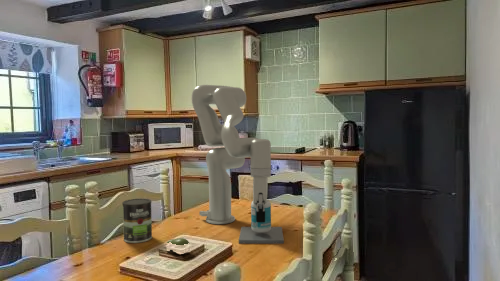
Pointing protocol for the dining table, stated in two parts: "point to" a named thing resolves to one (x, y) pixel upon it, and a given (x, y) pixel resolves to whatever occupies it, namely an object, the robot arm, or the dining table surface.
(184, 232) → the dining table surface
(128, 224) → the coffee can
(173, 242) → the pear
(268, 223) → the pill bottle
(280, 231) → the plate
